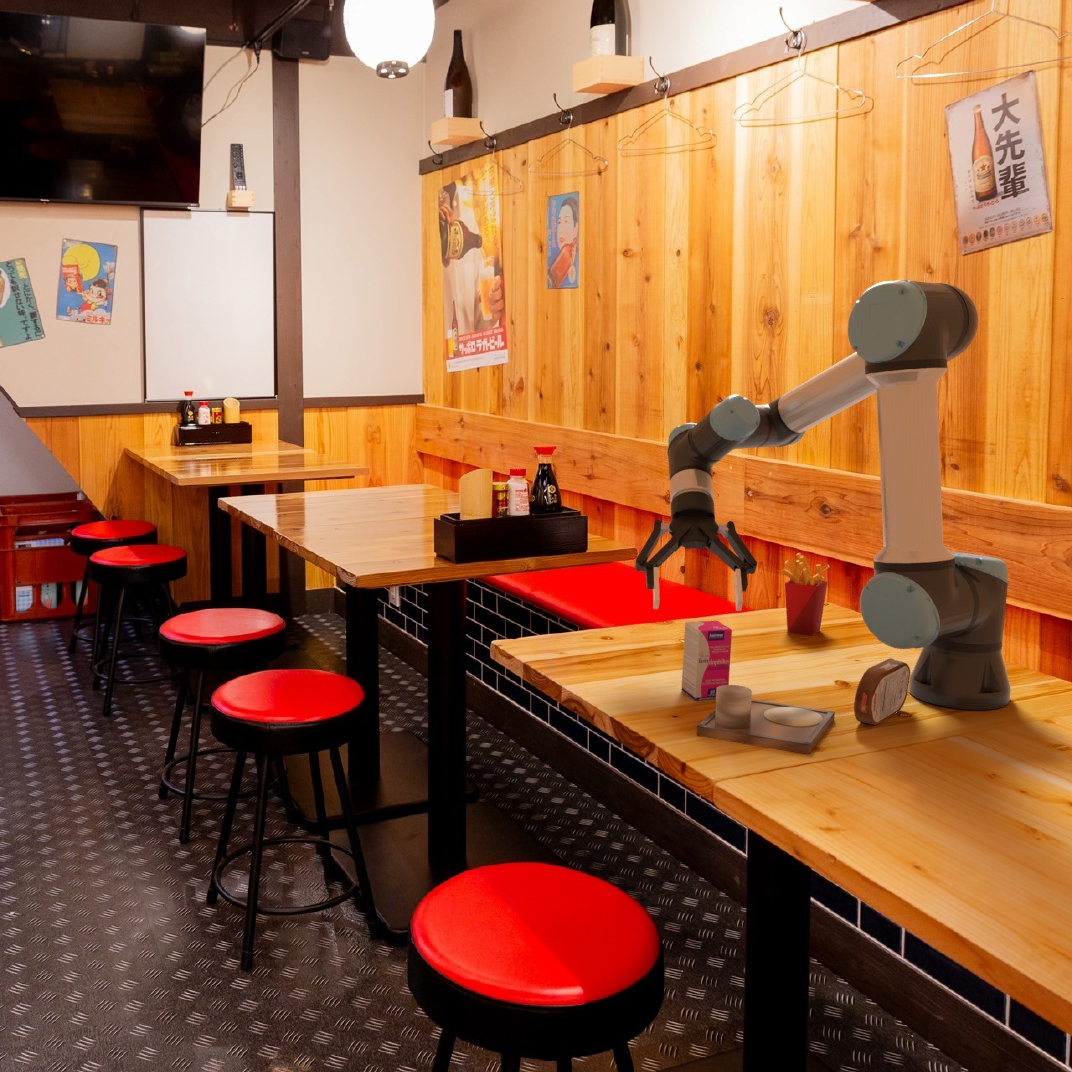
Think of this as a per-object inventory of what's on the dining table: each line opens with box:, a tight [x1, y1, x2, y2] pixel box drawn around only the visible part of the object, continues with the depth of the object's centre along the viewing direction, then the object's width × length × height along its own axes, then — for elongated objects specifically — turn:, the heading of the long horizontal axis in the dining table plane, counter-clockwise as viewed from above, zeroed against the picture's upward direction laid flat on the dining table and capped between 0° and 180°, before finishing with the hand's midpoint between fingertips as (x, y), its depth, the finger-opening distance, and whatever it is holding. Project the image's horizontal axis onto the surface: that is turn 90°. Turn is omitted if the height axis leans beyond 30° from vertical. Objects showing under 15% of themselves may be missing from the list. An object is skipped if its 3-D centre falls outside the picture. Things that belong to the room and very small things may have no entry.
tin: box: [853, 657, 911, 726], centre depth 174 cm, size 15×3×8 cm, turn 141°
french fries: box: [780, 552, 830, 636], centre depth 224 cm, size 9×8×15 cm
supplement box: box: [681, 620, 733, 701], centre depth 183 cm, size 6×6×12 cm
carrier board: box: [696, 684, 836, 755], centre depth 168 cm, size 16×16×6 cm
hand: (698, 605), depth 191 cm, fingers open, 13 cm apart
